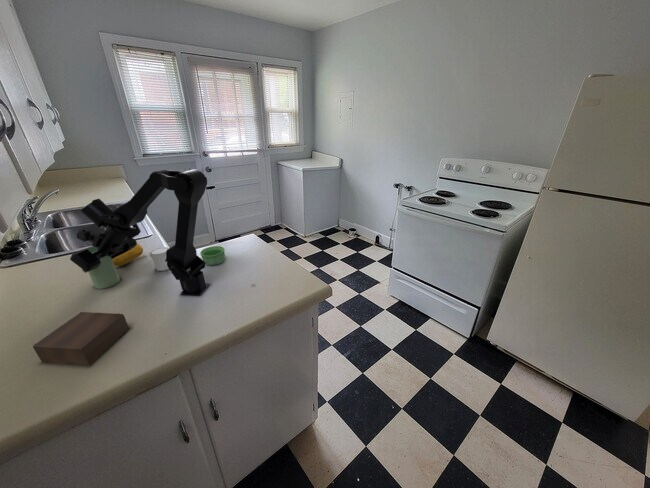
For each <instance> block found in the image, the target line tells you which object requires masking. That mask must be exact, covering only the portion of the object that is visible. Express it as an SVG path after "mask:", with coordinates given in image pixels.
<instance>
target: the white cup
mask: <svg viewBox="0 0 650 488" xmlns="http://www.w3.org/2000/svg"><path fill="white" fill-rule="evenodd" d="M169 248H170V247H168V246H163V247H158V248H154V249H152V250H150V251H149V256H150V258H151V260H152V262H153V265H154V267H155V270H156V271H158V272H164V271H167V270H170V269H169V268H168V266H167V262H165V260H166V251H167V249H169Z"/></svg>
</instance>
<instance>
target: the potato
mask: <svg viewBox="0 0 650 488" xmlns="http://www.w3.org/2000/svg"><path fill="white" fill-rule="evenodd" d="M143 253H144V247H143V246H142V245H140V244H139V243H137V245H136V246H135V247H134V248H132V249H131V250H129V251H127V252H125V253H123V254H121V255H119V256H117V257H115V258H113V259H112V260H113V263H114V266H115V267H121V266H122V267H123V266H124V265H127V264H129V263H130V262H132V261H134V260H135V259H137V258H139V257H140V256H141V255H142V254H143Z"/></svg>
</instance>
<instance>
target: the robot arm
mask: <svg viewBox="0 0 650 488" xmlns="http://www.w3.org/2000/svg"><path fill="white" fill-rule="evenodd" d="M207 185H208V178H207V177H206V175H205V173H204V172H202V171H201V170H199V169H191V170H169V169H160V170H155V171H152V172H151V173H150V174H149V177H148V178H147V179H146V181H145V182H144V183H143V184H142V185H141V187H140V188H139V189H138V190H137V191H136V192H135V194H134V195H133V196H132V197H131V198H130V199H129V200H128V201H127V202H125V203H122V204H121V205H120V206H118V207H116V208H115V209H114V210H113V209H112V208H111V207H110V206H108V205H107V204H106V203H105V202H104V201H103V200H102V199H101V198H95V199H92V201H91V202H90V203H88V204H87V205H85V206H84V207H82V208H81V210H80V213H81V215H83V216H85V218H87V219H88V220H89V221H90V222H92V224H88V225H86V226H84V227H81V229H78V232H76V239H78V240H80V241H82V242H84V243H85V242H88V241H89V242H91V246H94V247H97V249H98V251H97V252H95V253H93V254H92V253H91V252H90V251H88V250H87V249H85V248H82V249H81V250H78V251H76V252H73V253H72V254H71V255H70V259H69V260H70V261H71V262H72V263H74V264H75V265H76V266H78V267H79V268H80V269H81V270H82V272H83V273H85V274H87V273H88V272H89V271H91V270H93V269H95V268H97V267H99V265H100V264H101V262H100V259H102V258H104V257H106V256H109V257H111V258H112V259H113V258H115V257H117V256H119V255H121V254H123V253H125V252H127V251H129V250H131V249H132V248H134V247H135V246H136V245H137V244H138V242H137V240H136V239H135V238H136V237H137V236H139V235H140V233H139V231H138V230H137V227H134V225H136V224H139V223H141V222H143V221H144V220H145V218H146V217H147V215H148V208H149V207H150V205H152V203H153V202H155V200H156V199H157V198H158V197H159V196H160V195H161V193H163V191H164V190H165V189H166V190H168V191H173V194H174V196H175V197H176V200H177V201H178V206H177V207H178V208H177V220H176V229H175V230H176V231H175V241H174V245H172V246H170V247H168V248H169V249H167V251H166V260H165V262H167V266H168V268H169V269H168V270H169V271H170V272H171V274H172V275H173V277H174V279H175V280H176V281H179V284H180V287H181V292H180V295H181V296H199V297H200V296H201V295H202V294H203V293H204V291H205V290H206V289H207V288H208V287H209V286H210V284H209V283H208V282H206V280H205V279H206V278H205V275H204V271H203V270H204V269H205V268H206V263H205V262H204V261H203V259H202V257H199V256H198V255H197V252H198V251H197V249H196V247H195V245H194V239H195V233H196V231H195V230H196V223H197V214H198V206H199V202H200V201H201V199H202V198H203V196H204V194H205V192H206V189H207ZM106 227H107V228H106ZM100 255H101V256H100Z"/></svg>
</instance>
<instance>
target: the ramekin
mask: <svg viewBox="0 0 650 488" xmlns="http://www.w3.org/2000/svg"><path fill="white" fill-rule="evenodd" d="M225 249H226V248H225V247H223V246H221V245H213V246H207V247H205V248H203V249H202V250H201V251H200V252H199V254H200V256H201V259H202V260H203V261H204V262H205V263H206V264H205V266H206V265H207V266H215V265H219V264H221V263H223V262H224V261H225V260H226V255H225V254H226V253H225Z"/></svg>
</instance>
